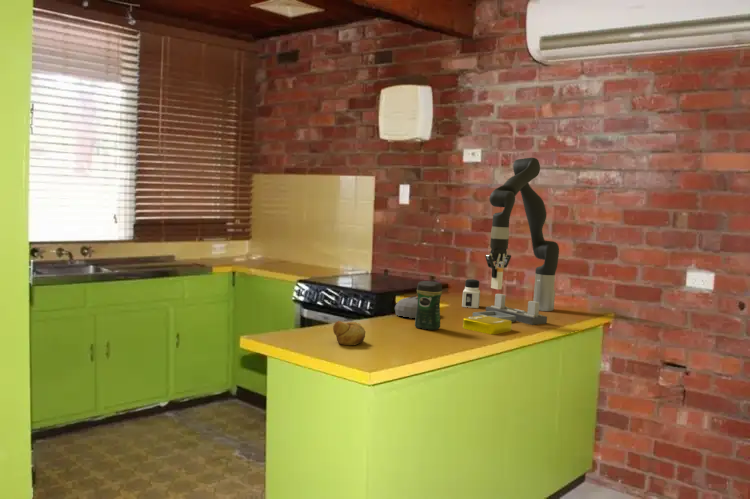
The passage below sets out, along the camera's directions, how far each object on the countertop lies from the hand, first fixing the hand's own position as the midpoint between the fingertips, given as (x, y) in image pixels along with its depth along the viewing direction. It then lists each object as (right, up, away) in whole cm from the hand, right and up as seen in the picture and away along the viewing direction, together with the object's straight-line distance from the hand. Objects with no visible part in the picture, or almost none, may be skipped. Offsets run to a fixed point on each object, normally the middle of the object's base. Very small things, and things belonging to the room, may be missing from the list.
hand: (496, 277), depth 296 cm
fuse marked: (0, -5, 0) cm, 5 cm away
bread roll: (-60, -20, -57) cm, 86 cm away
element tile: (-8, -20, -20) cm, 29 cm away
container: (-7, -15, +34) cm, 38 cm away
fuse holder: (+10, -18, +9) cm, 23 cm away
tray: (-1, -18, +2) cm, 18 cm away
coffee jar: (-32, -19, -24) cm, 44 cm away
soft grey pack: (-35, -17, +2) cm, 39 cm away
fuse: (+15, -19, +1) cm, 25 cm away
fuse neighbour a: (+4, -17, +17) cm, 25 cm away
